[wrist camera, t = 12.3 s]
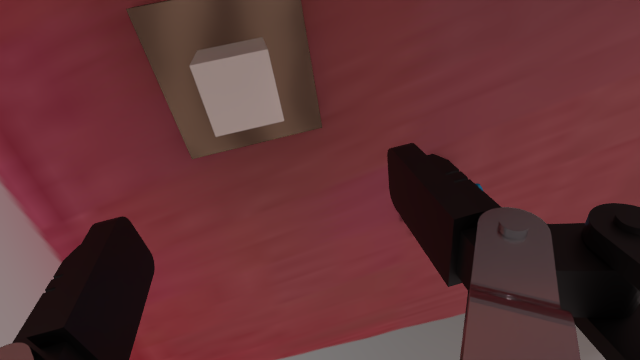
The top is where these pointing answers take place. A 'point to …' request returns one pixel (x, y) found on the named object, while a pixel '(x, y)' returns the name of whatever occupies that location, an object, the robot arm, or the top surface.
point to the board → (220, 29)
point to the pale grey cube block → (237, 86)
